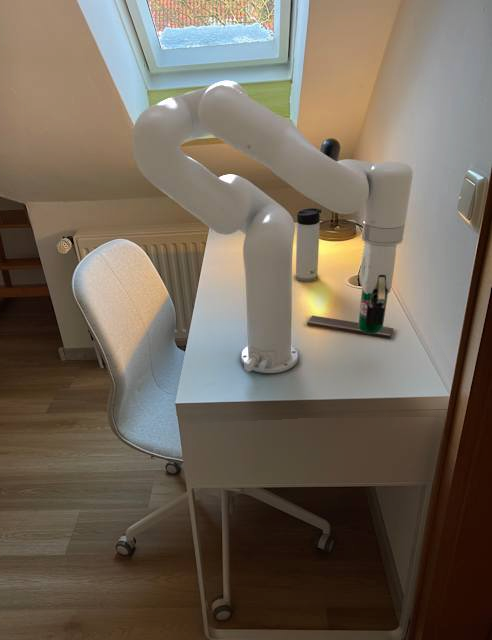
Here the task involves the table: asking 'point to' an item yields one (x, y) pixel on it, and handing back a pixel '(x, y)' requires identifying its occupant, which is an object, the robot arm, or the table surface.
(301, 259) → the travel mug
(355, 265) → the table surface
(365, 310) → the soda can
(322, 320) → the ruler
